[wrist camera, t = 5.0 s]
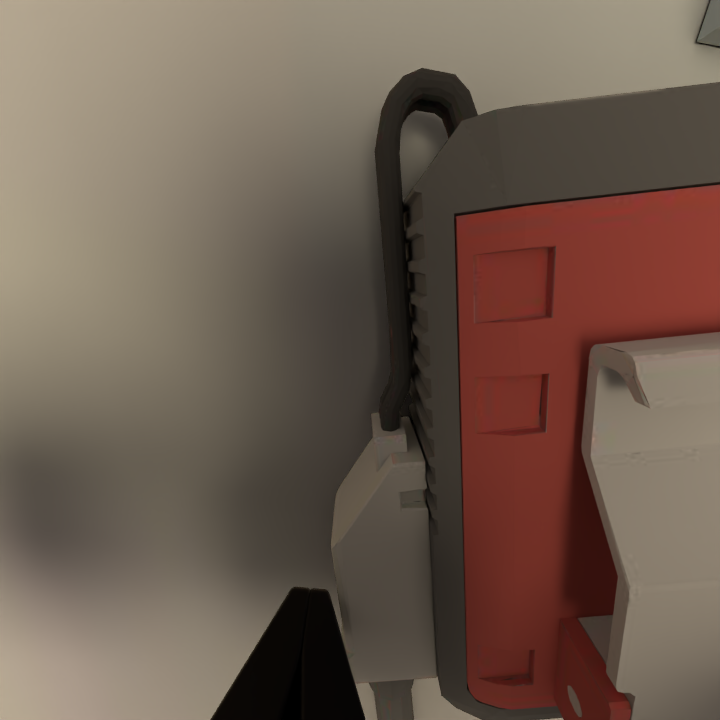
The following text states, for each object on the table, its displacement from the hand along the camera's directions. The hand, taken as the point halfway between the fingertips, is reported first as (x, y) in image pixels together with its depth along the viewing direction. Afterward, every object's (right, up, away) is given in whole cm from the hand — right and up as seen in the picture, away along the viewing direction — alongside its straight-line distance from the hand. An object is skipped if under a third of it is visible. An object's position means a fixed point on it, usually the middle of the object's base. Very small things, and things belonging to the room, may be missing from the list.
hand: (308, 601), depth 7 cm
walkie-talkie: (+5, +1, +2) cm, 5 cm away
